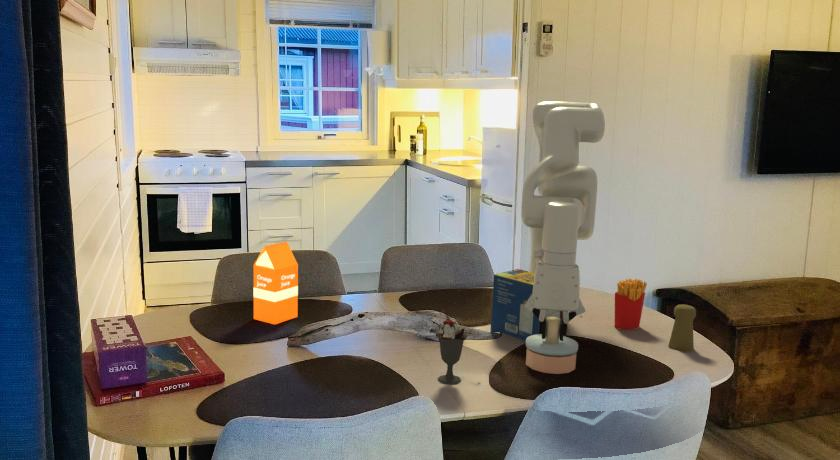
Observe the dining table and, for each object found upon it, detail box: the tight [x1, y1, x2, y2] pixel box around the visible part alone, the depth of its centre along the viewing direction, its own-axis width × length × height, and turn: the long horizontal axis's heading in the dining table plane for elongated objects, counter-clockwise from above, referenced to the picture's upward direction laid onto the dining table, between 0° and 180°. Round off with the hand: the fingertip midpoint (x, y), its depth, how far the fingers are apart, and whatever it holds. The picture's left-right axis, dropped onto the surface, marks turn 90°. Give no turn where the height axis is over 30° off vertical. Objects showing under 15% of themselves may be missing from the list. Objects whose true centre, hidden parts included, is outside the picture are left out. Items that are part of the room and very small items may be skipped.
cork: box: [668, 304, 697, 353], centre depth 179 cm, size 6×6×11 cm
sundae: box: [435, 310, 468, 385], centre depth 152 cm, size 7×7×15 cm
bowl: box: [525, 347, 577, 375], centre depth 162 cm, size 11×11×4 cm
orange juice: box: [252, 241, 299, 325], centre depth 189 cm, size 8×9×20 cm
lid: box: [525, 317, 579, 356], centre depth 161 cm, size 12×12×6 cm
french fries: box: [614, 278, 647, 331], centre depth 194 cm, size 9×4×13 cm, turn 115°
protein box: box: [490, 268, 563, 341], centre depth 183 cm, size 10×15×16 cm
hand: (552, 337), depth 161 cm, fingers open, 3 cm apart
